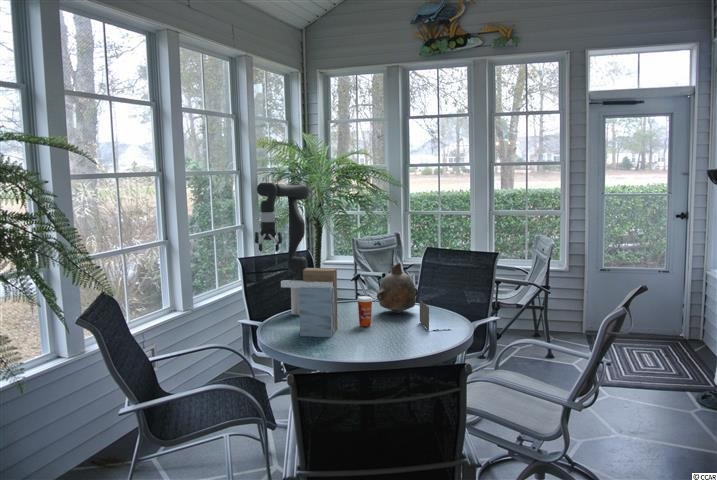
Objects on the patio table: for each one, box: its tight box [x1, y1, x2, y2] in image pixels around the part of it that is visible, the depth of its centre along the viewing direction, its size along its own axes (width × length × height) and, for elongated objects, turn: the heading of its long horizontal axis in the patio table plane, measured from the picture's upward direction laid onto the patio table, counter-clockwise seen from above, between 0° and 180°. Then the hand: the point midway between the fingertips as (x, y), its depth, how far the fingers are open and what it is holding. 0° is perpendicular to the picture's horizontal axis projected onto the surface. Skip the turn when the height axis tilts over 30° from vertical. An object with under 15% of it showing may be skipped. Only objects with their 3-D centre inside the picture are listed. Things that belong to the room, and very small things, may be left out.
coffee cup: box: [356, 295, 373, 327], centre depth 304 cm, size 8×8×15 cm
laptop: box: [419, 299, 430, 331], centre depth 301 cm, size 18×13×13 cm
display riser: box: [299, 267, 339, 338], centre depth 290 cm, size 15×16×32 cm
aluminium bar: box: [280, 279, 333, 289], centre depth 286 cm, size 4×26×3 cm, turn 80°
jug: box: [376, 262, 418, 314], centre depth 330 cm, size 24×21×30 cm
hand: (268, 251), depth 302 cm, fingers open, 8 cm apart
